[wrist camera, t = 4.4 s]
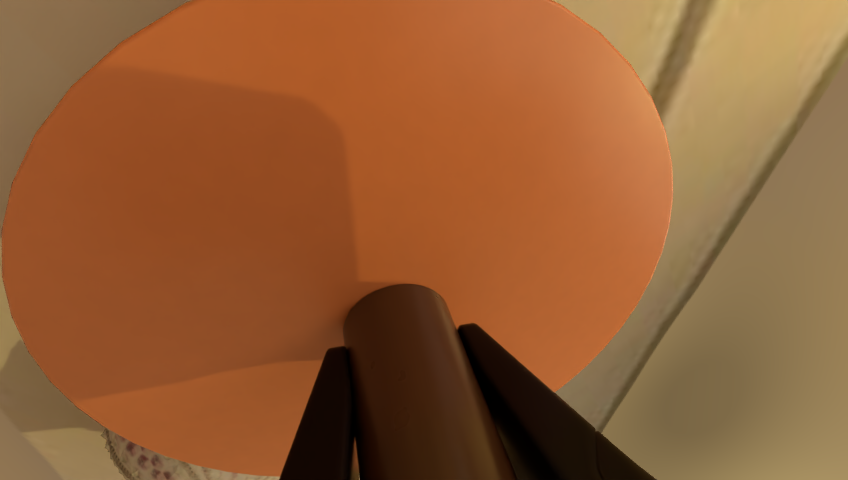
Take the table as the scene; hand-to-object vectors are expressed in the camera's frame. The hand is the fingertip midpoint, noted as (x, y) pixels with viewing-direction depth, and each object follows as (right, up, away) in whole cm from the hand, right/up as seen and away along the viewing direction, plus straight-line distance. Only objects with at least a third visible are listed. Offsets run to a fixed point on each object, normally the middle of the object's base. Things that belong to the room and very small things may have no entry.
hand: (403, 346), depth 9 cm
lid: (0, +1, +1) cm, 1 cm away
